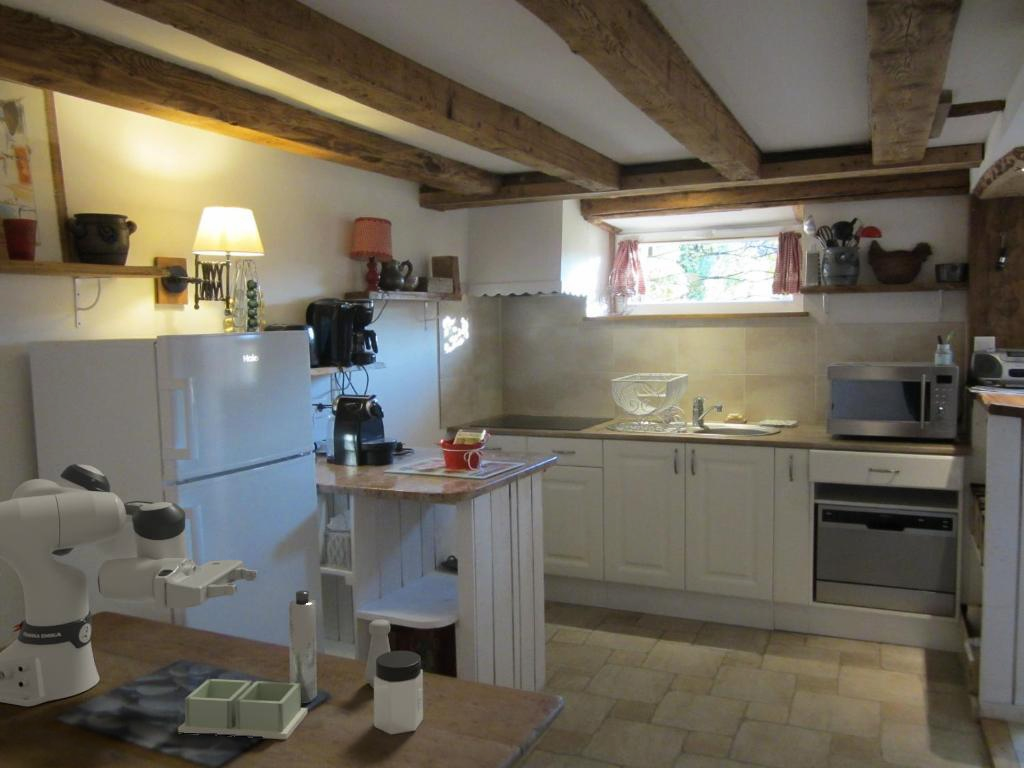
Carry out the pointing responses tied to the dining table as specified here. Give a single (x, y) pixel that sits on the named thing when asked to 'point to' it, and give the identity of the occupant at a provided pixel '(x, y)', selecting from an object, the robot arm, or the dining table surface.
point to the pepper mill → (303, 644)
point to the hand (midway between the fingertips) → (246, 582)
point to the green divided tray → (244, 708)
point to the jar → (398, 692)
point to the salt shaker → (377, 646)
